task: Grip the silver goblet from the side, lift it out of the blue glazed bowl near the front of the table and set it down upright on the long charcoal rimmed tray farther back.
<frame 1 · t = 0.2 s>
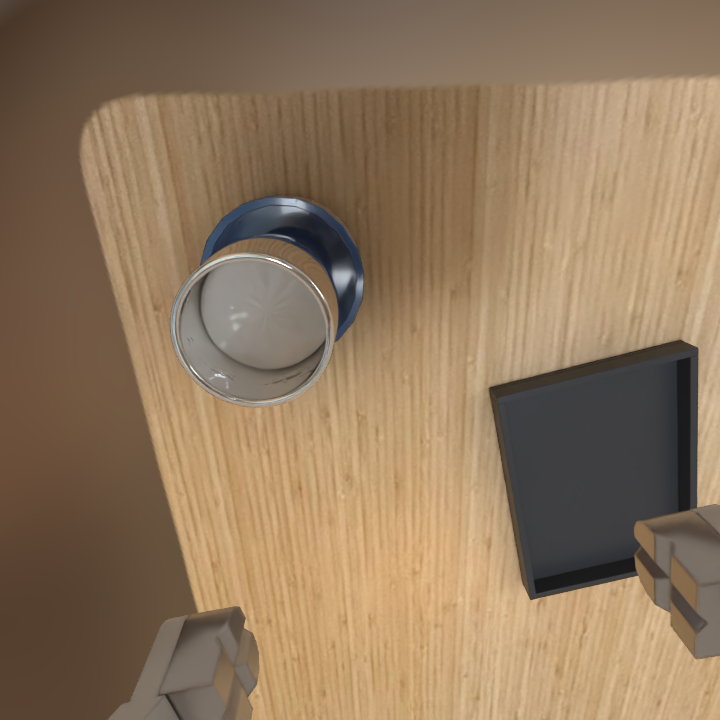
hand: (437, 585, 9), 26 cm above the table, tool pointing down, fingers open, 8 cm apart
silver goblet: (289, 270, 33), resting on bowl
bowl: (290, 270, 33), on the table
tray: (593, 474, 40), on the table
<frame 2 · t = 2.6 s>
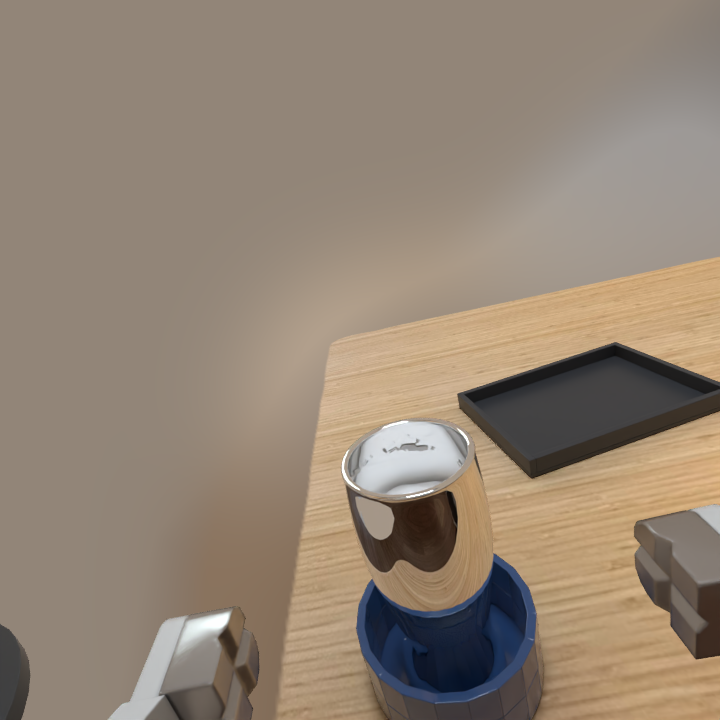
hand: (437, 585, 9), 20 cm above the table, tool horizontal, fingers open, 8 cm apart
silver goblet: (454, 661, 28), resting on bowl
bowl: (454, 661, 28), on the table
tray: (580, 406, 49), on the table
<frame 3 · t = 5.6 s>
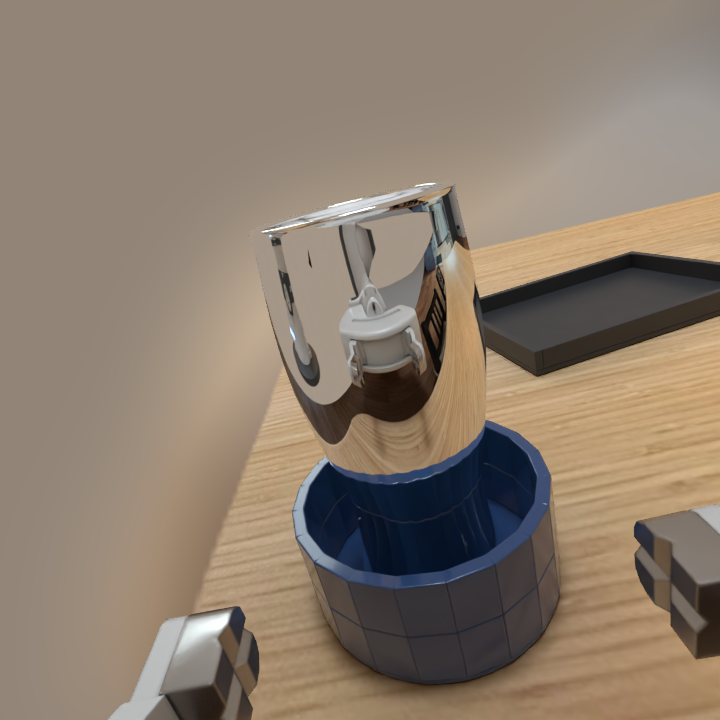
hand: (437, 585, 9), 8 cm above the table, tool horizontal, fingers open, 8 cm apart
silver goblet: (434, 564, 20), resting on bowl
bowl: (434, 565, 20), on the table
tray: (594, 311, 42), on the table
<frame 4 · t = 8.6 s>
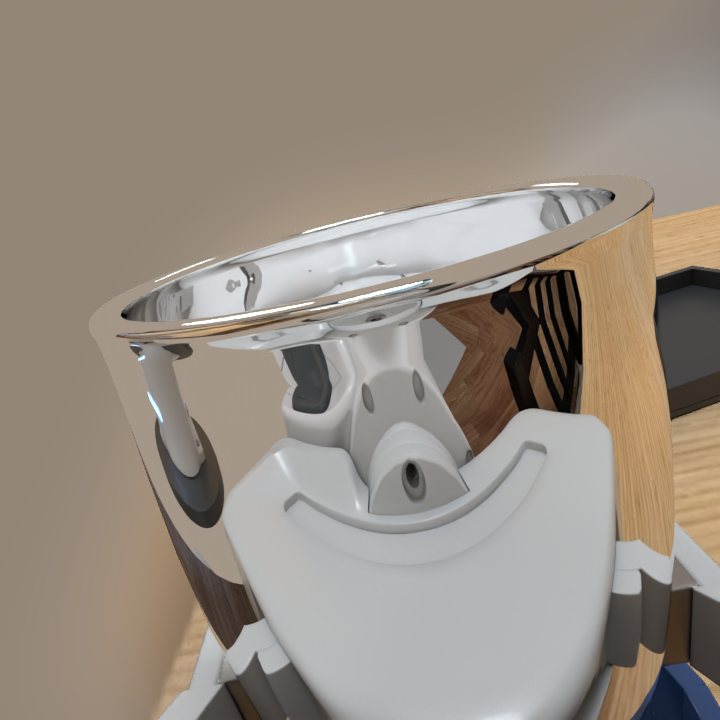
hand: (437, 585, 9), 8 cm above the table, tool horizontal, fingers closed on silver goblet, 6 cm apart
tray: (658, 344, 33), on the table
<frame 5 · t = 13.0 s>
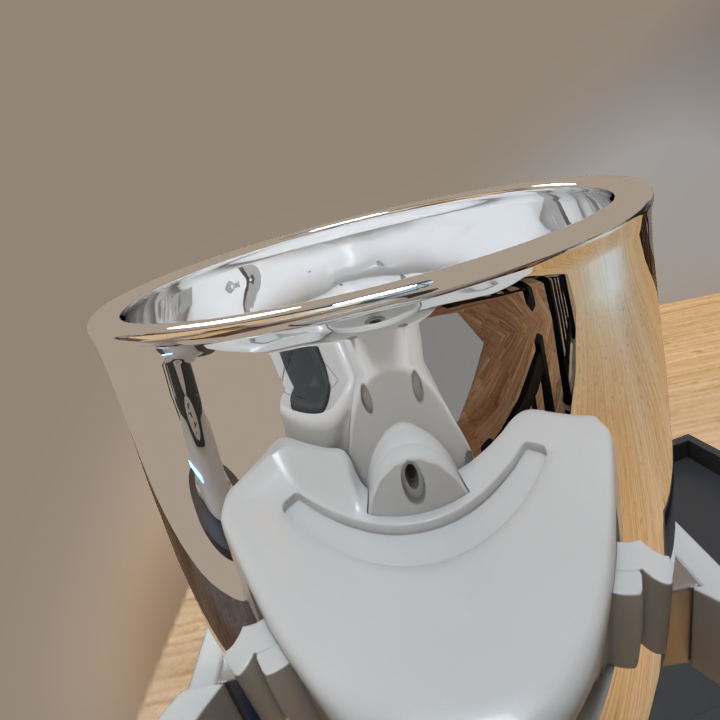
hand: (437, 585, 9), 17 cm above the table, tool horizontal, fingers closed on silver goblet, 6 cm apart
tray: (645, 581, 26), on the table
when the fingers open (8 cm above the table, at t = 17.9 s): silver goblet stays where it is, resting on tray.
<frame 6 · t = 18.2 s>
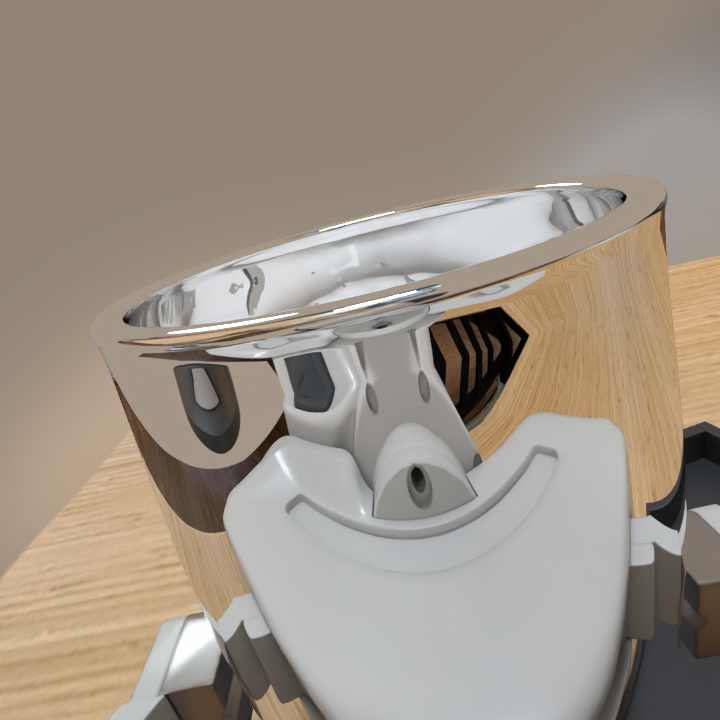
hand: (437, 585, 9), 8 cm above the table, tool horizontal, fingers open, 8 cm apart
tray: (633, 690, 14), on the table
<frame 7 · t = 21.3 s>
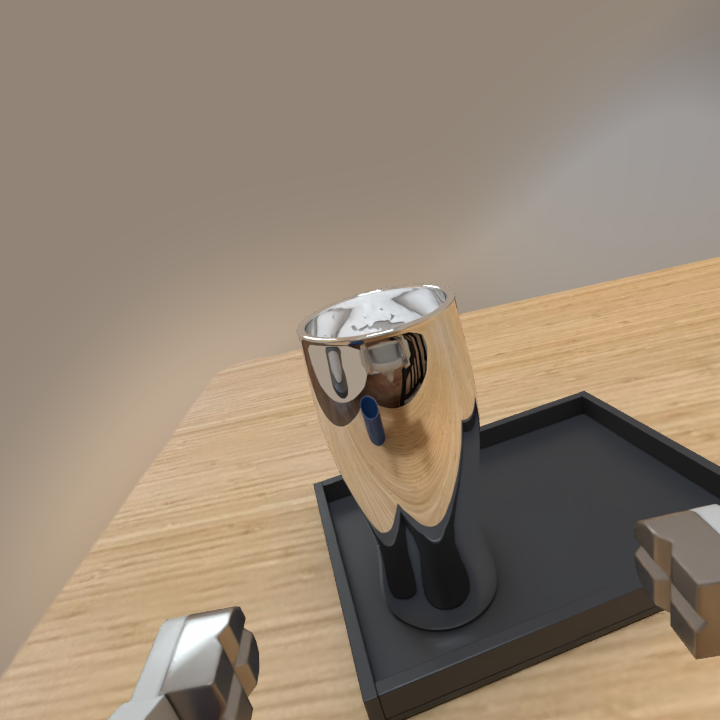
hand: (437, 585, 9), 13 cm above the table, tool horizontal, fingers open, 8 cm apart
silver goblet: (438, 580, 24), resting on tray
tray: (512, 522, 27), on the table
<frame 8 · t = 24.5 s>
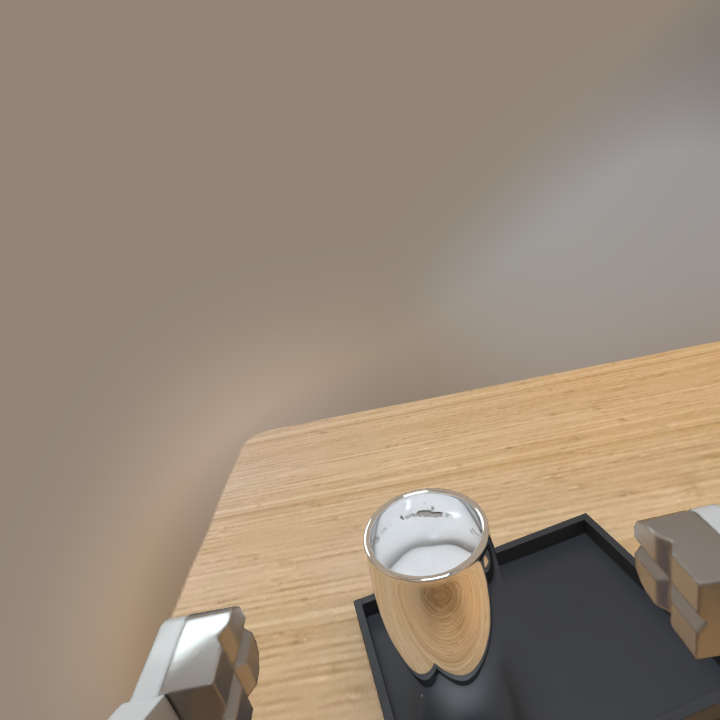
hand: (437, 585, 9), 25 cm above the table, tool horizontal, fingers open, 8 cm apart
silver goblet: (467, 711, 30), resting on tray
tray: (526, 652, 32), on the table
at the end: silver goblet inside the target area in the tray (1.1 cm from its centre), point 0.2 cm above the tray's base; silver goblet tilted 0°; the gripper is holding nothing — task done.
